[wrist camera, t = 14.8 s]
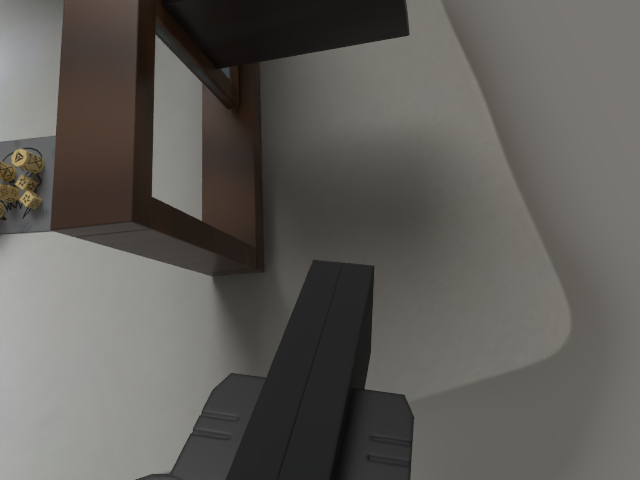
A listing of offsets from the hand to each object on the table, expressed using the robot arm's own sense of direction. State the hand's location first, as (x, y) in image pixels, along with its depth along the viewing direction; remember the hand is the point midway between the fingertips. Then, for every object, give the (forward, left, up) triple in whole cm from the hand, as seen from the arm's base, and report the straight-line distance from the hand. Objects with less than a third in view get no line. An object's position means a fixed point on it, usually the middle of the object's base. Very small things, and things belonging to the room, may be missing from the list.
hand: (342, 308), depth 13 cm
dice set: (+33, +6, -22) cm, 40 cm away
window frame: (+20, -9, -22) cm, 31 cm away
